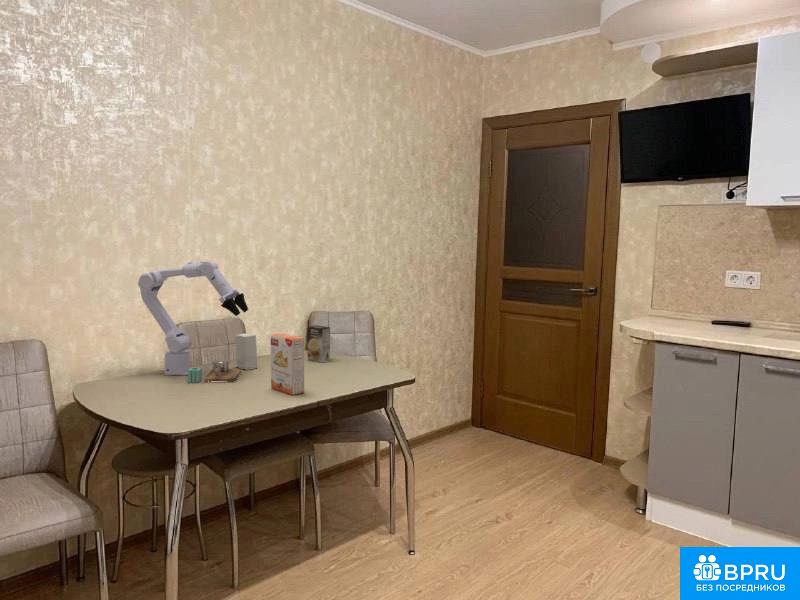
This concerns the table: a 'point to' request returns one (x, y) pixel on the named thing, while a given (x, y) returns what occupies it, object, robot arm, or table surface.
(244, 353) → the skincare box
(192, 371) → the green grooved hollow block
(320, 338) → the coffee box
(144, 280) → the robot arm
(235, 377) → the gear board
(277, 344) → the cracker box
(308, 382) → the table surface
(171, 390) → the table surface
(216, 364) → the fixed gear
